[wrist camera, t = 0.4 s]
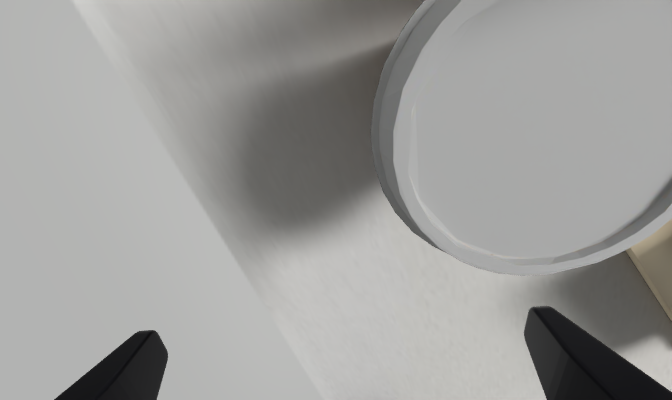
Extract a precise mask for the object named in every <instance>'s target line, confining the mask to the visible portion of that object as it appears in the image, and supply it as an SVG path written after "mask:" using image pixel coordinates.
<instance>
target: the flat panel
mask: <svg viewBox="0 0 672 400" xmlns="http://www.w3.org/2000/svg"><path fill="white" fill-rule="evenodd" d="M625 251H626V252H627V254H628V255H629V257H630V258H631V260H632V261H633V263H634V264H635V266H636V267H637V269H638V271H639V272H640V274H641V275H642V277H643V278H644V280H645V281H646V283H647V284H648V286H649V287H650V289H651V291H652V292H653V294H654V295H655V297H656V298H657V300H658V301H659V303H660V304H661V306H662V307H663V309H664V311H665V312H666V314H667V315H668V317H669V318H670V320H671V321H672V219H671V220H669V221H668V222H667V223H666V224H664V225H663V226H662V227H661V228H660V229H658V230H657V231H656V232H655V233H653V234H652V235H651V236H649V237H647V238H646V239H644V240H642V241H641V242H639V243H637V244H635V245H634V246H632V247H630V248H628V249H627V250H625Z"/></svg>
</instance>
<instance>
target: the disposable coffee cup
mask: <svg viewBox="0 0 672 400" xmlns="http://www.w3.org/2000/svg"><path fill="white" fill-rule="evenodd" d="M371 145H372V152H373V159H374V166H375V169H376V172H377V175H378V178H379V181H380V184H381V187H382V190H383V192H384V194H385V196H386V197H387V199H388V201H389V202H390V204H391V206H392V207H393V209H394V211H395V213H396V214H397V215H398V216H399V217H400V218H401V219H402V220H403V222H404V223H405V224H406V225H407V226H408V227H409V228H410V229H411V231H412V232H414V233H415V234H416V235H418V236H419V237H421V238H422V239H424V240H425V241H426V242H428V243H429V244H431V245H432V246H434V247H436V248H438V249H440V250H442V251H444V252H446V253H448V254H450V255H451V256H453V257H455V258H456V259H458V260H459V261H462V262H464V263H467V264H469V265H471V266H474V267H476V268H480V269H484V270H487V271H491V272H495V273H500V274H510V275H520V276H525V275H548V274H553V273H558V272H562V271H566V270H570V269H574V268H578V267H582V266H587V265H591V264H595V263H598V262H600V261H603V260H605V259H607V258H609V257H612V256H614V255H616V254H619V253H621V252H623V251H625V250H627V249H628V248H630V247H632V246H634V245H635V244H637V243H639V242H641V241H642V240H644V239H646V238H647V237H649V236H651V235H652V234H653V233H655V232H656V231H657V230H658V229H660V228H661V227H662V226H663V225H664V224H666V223H667V222H668V221H669V220H671V219H672V0H425V1H424V2H423V3H422V4H421V5H420V6H419V8H418V9H417V10H416V11H415V13H414V14H413V15H412V17H411V18H410V20H409V21H408V22H407V24H406V25H405V26H404V28H403V30H402V32H401V33H400V35H399V37H398V39H397V41H396V43H395V45H394V47H393V49H392V51H391V53H390V55H389V57H388V59H387V60H386V62H385V64H384V67H383V70H382V73H381V77H380V81H379V84H378V88H377V91H376V95H375V98H374V103H373V113H372V123H371Z"/></svg>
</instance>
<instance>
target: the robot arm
mask: <svg viewBox="0 0 672 400" xmlns="http://www.w3.org/2000/svg"><path fill="white" fill-rule="evenodd" d="M524 336H525V341H526V344H527V347H528V349H529V352H530V355H531V358H532V360H533V363H534V366H535V368H536V371H537V374H538V377H539V379H540V382H541V385H542V388H543V390H544V393H545V396H546V398H547V400H672V392H671V391H669V390H668V389H666V388H665V387H664V386H662V385H661V384H659V383H658V382H657V381H655V380H654V379H652V378H651V377H650V376H648V375H647V374H645V373H644V372H642V371H641V370H640V369H638V368H637V367H635V366H634V365H633V364H631V363H630V362H628V361H627V360H626V359H624V358H623V357H621V356H620V355H618V354H617V353H616V352H614V351H613V350H611V349H610V348H609V347H607V346H606V345H604V344H603V343H602V342H600V341H599V340H597V339H596V338H594V337H593V336H592V335H590V334H589V333H587V332H586V331H585V330H583V329H582V328H580V327H579V326H577V325H576V324H575V323H573V322H572V321H570V320H569V319H568V318H566V317H565V316H563V315H562V314H561V313H559V312H558V311H556V310H555V309H553V308H551V307H549V306H540V307H532V308H530V310H529V312H528V317H527V321H526V325H525V330H524ZM167 360H168V353H167V349H166V348H165V346H164V344H163V342H162V340H161V339H160V336H159V335H158V333H157V332H156V331H154V330H148V331H139V332H137V333H135V334H134V335H133V336H131V337H130V338H129V339H128V340H126V341H125V342H124V343H123V344H122V345H120V346H119V347H118V348H117V349H115V350H114V351H113V352H112V353H111V354H109V355H108V356H107V357H106V358H104V359H103V360H102V361H101V362H100V363H98V364H97V365H96V366H95V367H93V368H92V369H91V370H90V371H89V372H87V373H86V374H85V375H84V376H82V377H81V378H80V379H79V380H78V381H76V382H75V383H74V384H73V385H72V386H71V387H69V388H68V389H67V390H65V391H64V392H63V393H62V394H61V395H59V396H58V397H57V398H56V399H54V400H157V396H158V392H159V389H160V385H161V382H162V378H163V375H164V371H165V368H166V364H167Z"/></svg>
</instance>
